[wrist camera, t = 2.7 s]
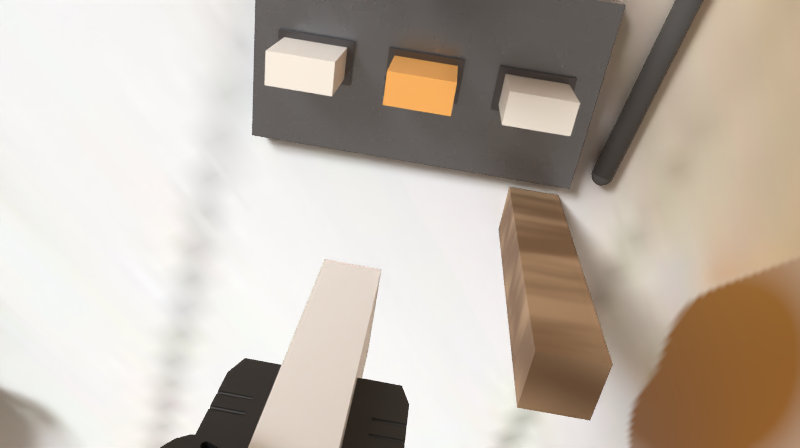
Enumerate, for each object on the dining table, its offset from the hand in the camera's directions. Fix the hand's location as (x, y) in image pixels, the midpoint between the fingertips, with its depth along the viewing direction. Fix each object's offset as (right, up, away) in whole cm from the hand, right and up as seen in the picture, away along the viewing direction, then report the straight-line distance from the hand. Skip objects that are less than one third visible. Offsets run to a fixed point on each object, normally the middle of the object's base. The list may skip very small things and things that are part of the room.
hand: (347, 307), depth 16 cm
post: (+11, +3, +28) cm, 30 cm away
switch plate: (+3, +12, +23) cm, 27 cm away
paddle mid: (+3, +12, +22) cm, 25 cm away
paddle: (-4, +13, +22) cm, 26 cm away
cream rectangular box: (+10, +11, +22) cm, 26 cm away
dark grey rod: (+17, +11, +22) cm, 30 cm away
